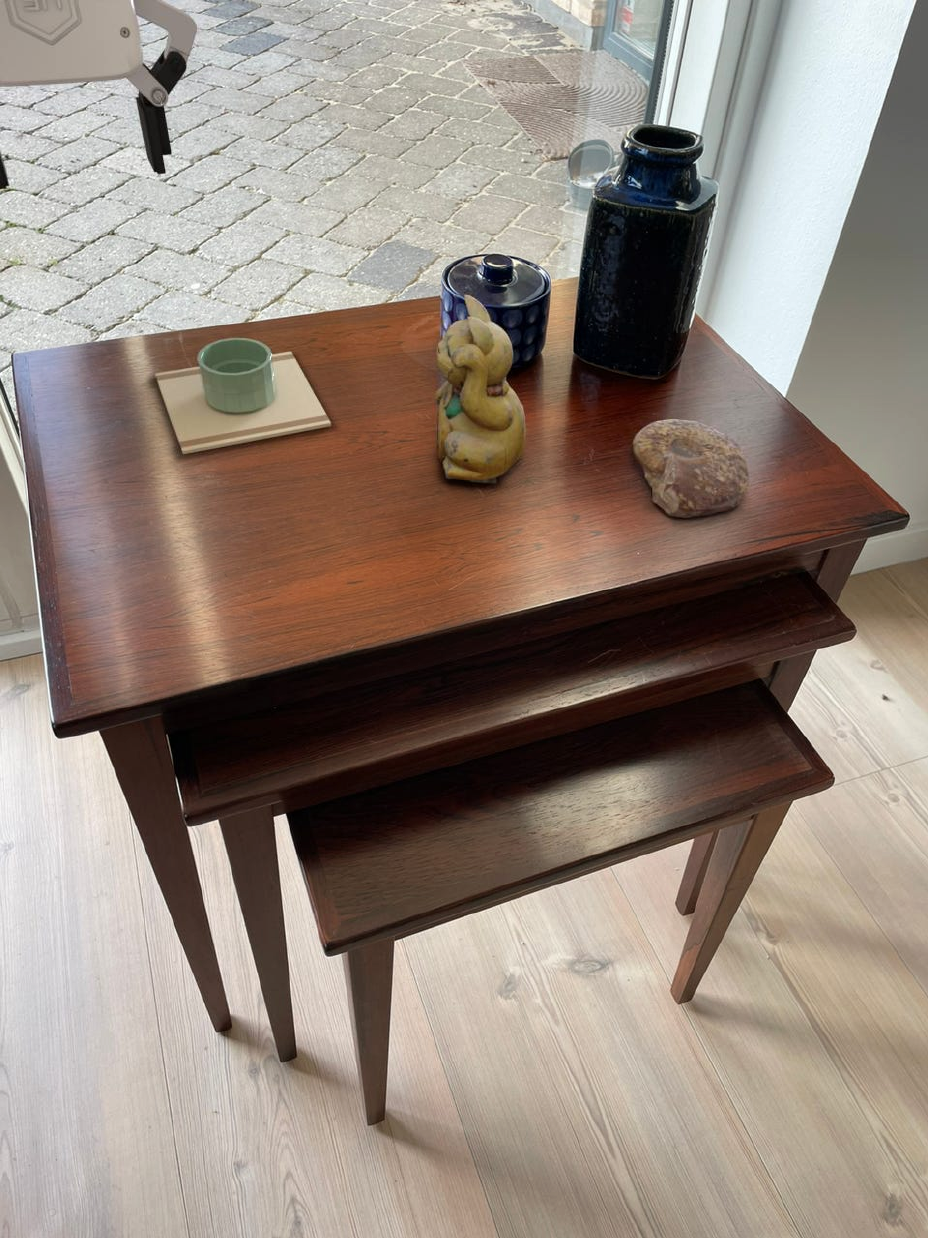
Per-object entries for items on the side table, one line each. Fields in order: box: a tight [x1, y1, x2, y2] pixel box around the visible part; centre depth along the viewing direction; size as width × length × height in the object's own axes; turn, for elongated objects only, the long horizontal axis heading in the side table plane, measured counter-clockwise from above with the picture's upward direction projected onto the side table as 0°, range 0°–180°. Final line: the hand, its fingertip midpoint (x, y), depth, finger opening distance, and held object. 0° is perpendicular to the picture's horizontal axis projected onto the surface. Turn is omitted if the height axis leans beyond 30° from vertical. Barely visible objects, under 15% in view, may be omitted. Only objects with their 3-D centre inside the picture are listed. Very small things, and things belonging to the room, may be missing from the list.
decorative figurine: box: [434, 294, 527, 485], centre depth 77 cm, size 10×8×15 cm
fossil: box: [632, 418, 750, 519], centre depth 81 cm, size 13×5×10 cm
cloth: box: [154, 351, 332, 455], centre depth 88 cm, size 14×14×1 cm
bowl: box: [196, 337, 276, 413], centre depth 86 cm, size 7×7×4 cm
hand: (81, 173), depth 58 cm, fingers open, 9 cm apart
